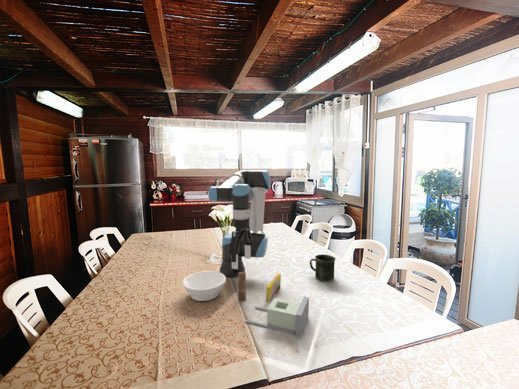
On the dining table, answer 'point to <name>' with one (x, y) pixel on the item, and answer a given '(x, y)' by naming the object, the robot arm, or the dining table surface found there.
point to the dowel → (241, 286)
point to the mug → (324, 267)
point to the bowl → (204, 285)
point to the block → (282, 314)
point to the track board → (300, 319)
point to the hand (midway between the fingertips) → (241, 263)
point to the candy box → (273, 287)
